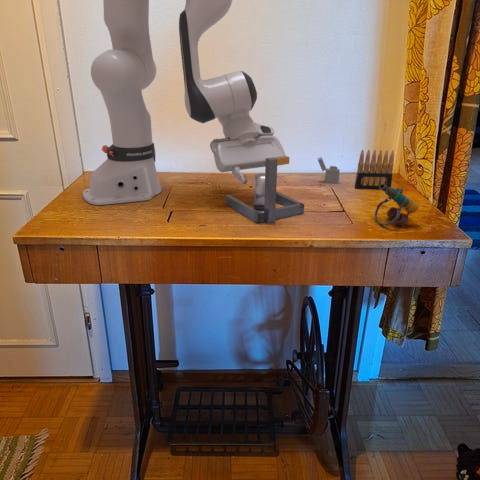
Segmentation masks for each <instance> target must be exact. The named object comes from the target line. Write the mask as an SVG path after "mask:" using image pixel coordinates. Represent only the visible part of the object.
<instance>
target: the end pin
mask: <svg viewBox="0 0 480 480" xmlns="http://www.w3.org/2000/svg"><path fill="white" fill-rule="evenodd" d="M253 185H254V189H253V190H254V191H253V193H254V194H253V209H255V210H257V211H259V212H260V211H264V198H265V173H262V172H261V173H256V174H255V175H254V184H253Z"/></svg>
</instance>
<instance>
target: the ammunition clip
mask: <svg viewBox="0 0 480 480" xmlns="http://www.w3.org/2000/svg"><path fill="white" fill-rule="evenodd" d="M370 151H371V150H370V149H368V150H367V152H366V155H365V152H364V149H362V150H361V151H360V154H359V159H358V164H357V170H356V171H357V172H356V177H355V182H354V189H355V190H373V191H374V190H375V191H376V190H381V189H380V188H379V185H380V184H385V185H386V186H387V187H392V184H393V183H392V181H393V170H394V161H395V160H394V159H395V151H394V150H392V151H391V152H390V155H389V152H388V150H387V149H386V150H385V152H384V155H383V152H382V149H380V150H379V152H378V156H377V151H376V149H374V150H373V152H372V155H371V152H370ZM364 158H365V159H364ZM381 191H382V190H381Z"/></svg>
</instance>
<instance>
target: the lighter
mask: <svg viewBox="0 0 480 480" xmlns="http://www.w3.org/2000/svg"><path fill="white" fill-rule="evenodd" d="M317 161H318V163H319V167H320V169H321V171H322V172H323V171H325V177H324V183H325V184H339V181H340V180H339V179H340V171H341V170H340V169H339V168H338V167H337V166H335V165H329V167H328V168H327V167H326V164H325V163H324V160H323V157H322V156H320V157H318V158H317Z"/></svg>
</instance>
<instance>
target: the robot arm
mask: <svg viewBox="0 0 480 480" xmlns="http://www.w3.org/2000/svg"><path fill="white" fill-rule="evenodd" d="M232 3H233V0H185V6H184V9H183V10H182V11H181V13H179V18H178V19H179V20H178V32H179V33H178V36H179V45H180V54H181V55H180V56H181V64H182V73H183V83H184V106H185V109H186V112H187V114H188V116H189V118H191V119H192V120H194V121H196V122H198V123H200V124H201V123H202V124H206V123H208V122H211V121H213V120H215V119H217V120H218V122H219V123H220V124H221V126H222V133H223V135H224V137H223V138H214V139H213V140H211V141H210V143H209V147H210V150H211V152H212V153H213V158H214V164H215V166H216V170H218V171H219V172H220V173H226V172H228V173H229V172H231V174H232V175H233V176H234V177H235V178H236V179H237V180H238V181H239V184H240V185H247V183H248V182H249V181H248V180H249V179H248V178H247V177H248V176H247V175H246V174H242V172H241V171H243V170H251V169H256V168H257V169H259V168H265V165H266V158H272V157H281V156H286V152H285V150H284V148H283V146H282V143H281V142H280V140H279V138H278V137H277V136H275V135H274V134H275V130H274V128H273V127H271V126H269V125H263V124H260V123H258V122H254V119H252V117H251V115H250V112H251V111H252V110H253V108H254V106H255V104H256V101H257V99H258V91H257V89H256V86H255V83H254V81H253V79H252V77H251V76H250V75H249V74H248V73H246V72H245V71H242V70H239V71H234V72H230V73H227V74H223V75H220V76H217V77H212V78H208V79H202V78H201V69H200V59H199V47H198V46H199V41H200V38H201V37H202V36H203V35H204V34H205V32H207V31H208V30H209V29H210V28H212V27H213V26H215V25H216V24H217V23H218V22H220V21H221V20H222V19H223V18H224V17H225V16H226V15H227V13H228V12H229V11H230V9H231V6H232ZM149 5H150V0H103V20H104V24H105V26H106V28H107V31H108V32H109V37H110V41H111V46H112V47H111V48H112V49H108V50H106V51H103V52H102V53H100V54H99V55H97V56H96V57H95V58H94V59H93V61H92V63H91V66H90V77H91V79H92V82H93V84H94V85H95V87H96V88H97V89H98V90H99V91H100V93H101V96H102V98H103V102H104V103H105V107H106V110H107V114H108V118H109V123H110V131H111V138H112V144H111V145H109V146H108V145H106V144H105V145H102V147H101V151H102V152H103V153H105V154H106V158H107V159H105V161H103V162H102V163H100V165H99V166H98V167H97V168H96V169H95V170H93V171H92V172H91V174H90V178H89V188H85V189H84V190H83V191H82V198H83V200H85V201H86V203H88V204H91V205H95V206H104V205H114V204H123V203H133V202H144V201H150V200H152V198H154V196H157V195H159V194H160V193H161V192H162V190H163V189H162V187H161V183H160V180H159V178H158V173H157V168H156V148H155V143H154V142H153V131H152V130H153V129H152V120H151V114H150V112H149V111H148V109H147V107H146V104H145V100H144V96H143V92H142V90H145V89H147V88H148V87H149V86H150V85H152V83H153V81H154V80H155V78H156V76H157V64H156V62H155V60H154V57H153V49H152V42H151V38H150V37H151V36H150V27H149V25H150V23H149V20H150V19H149V15H150V12H149V11H150V6H149ZM278 177H279V176H278V174H277V178H278Z"/></svg>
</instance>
